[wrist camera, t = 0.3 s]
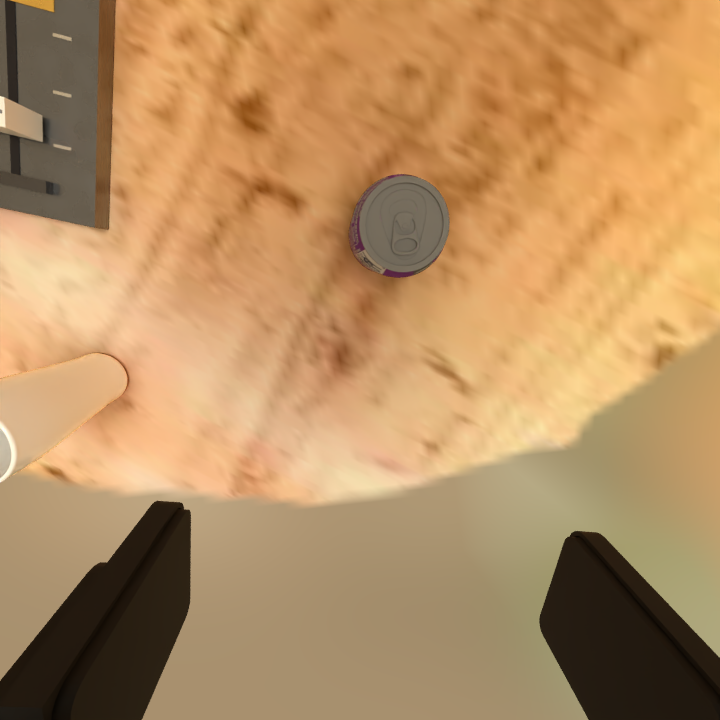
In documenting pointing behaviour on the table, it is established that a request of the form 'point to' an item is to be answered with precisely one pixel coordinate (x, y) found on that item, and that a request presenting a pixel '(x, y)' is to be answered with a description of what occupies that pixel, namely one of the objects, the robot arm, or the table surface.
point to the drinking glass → (53, 406)
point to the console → (59, 107)
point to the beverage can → (399, 226)
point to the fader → (20, 120)
